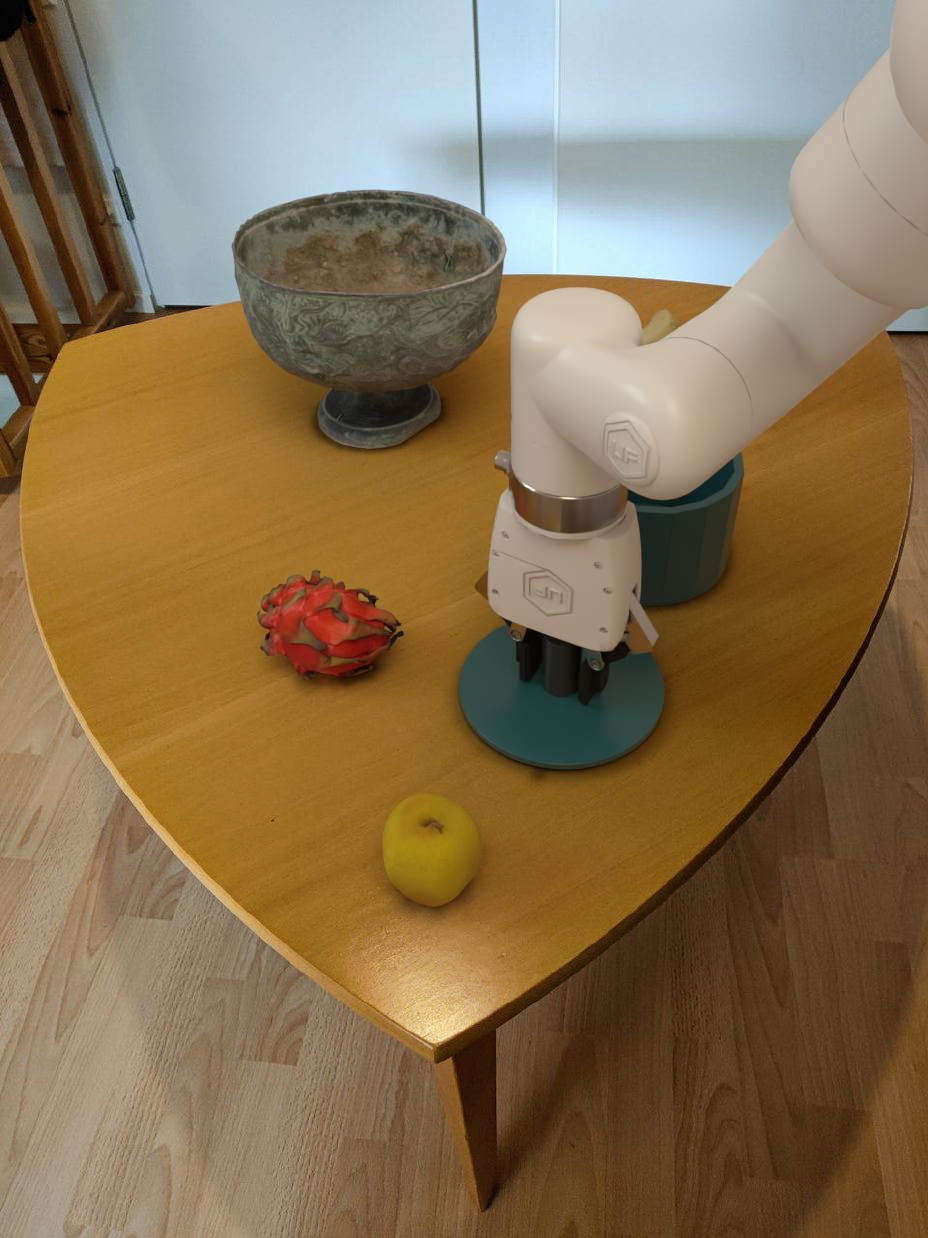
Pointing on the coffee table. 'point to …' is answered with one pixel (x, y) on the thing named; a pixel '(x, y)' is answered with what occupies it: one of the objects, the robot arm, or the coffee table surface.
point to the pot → (687, 537)
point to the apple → (431, 848)
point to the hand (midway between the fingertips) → (561, 678)
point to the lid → (558, 704)
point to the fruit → (659, 327)
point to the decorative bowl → (370, 301)
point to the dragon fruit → (325, 626)
